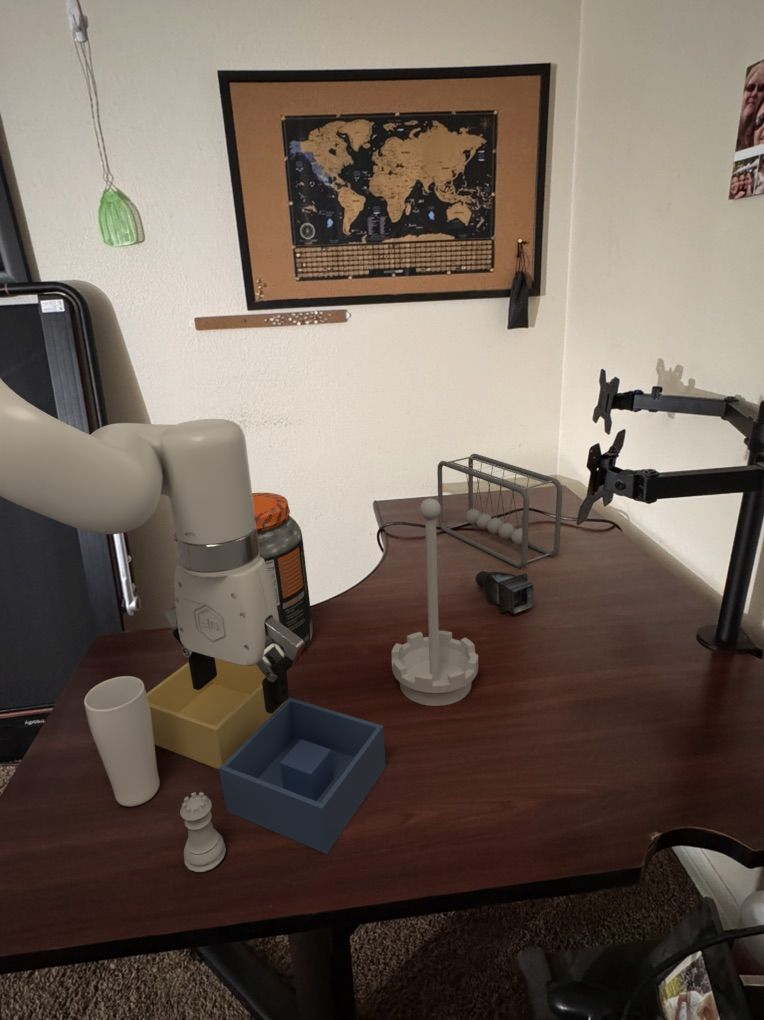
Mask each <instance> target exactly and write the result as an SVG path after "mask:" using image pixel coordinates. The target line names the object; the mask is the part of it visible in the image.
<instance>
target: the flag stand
mask: <svg viewBox="0 0 764 1020" xmlns="http://www.w3.org/2000/svg"><path fill="white" fill-rule="evenodd" d="M440 512H441V506H440V504H439V502H438V499H434V498H426V499H424V500H423V501H422V502H421V503H420V505H419V513H420V515H421V516H422V518H424V523H425V555H426V557H425V559H426V561H425V562H426V585H427V586H426V588H427V590H426V591H427V623H428V624H427V625H428V636H425V637H424V634H423V633H422V632H421V631H418V632H414V633H411V634H407V635H406V642H405V643H403V644H401V643H397V642H396V643H395V644H394V646H393V647H392V649H391V671H392V675H393V676H394V678H395V679H396V680H397V681H398V682H399V689H400V691H401V693H402V694H403V695H404V696H405V697H406V698H407V699H408V700H411V701H412V702H415V703H417V704H420V705H424V706H431V707H442V706H448V705H452V704H455V703H457V702H460V701H461V700H463V699H464V698H465V697H466V696H467V695H468V694H469V693H470V691H471V689H472V682H473V680H474V679H475V678H476V677H477V675H478V671H479V654H477V652H476V647H475V646H476V645H475V643H473V642H472V640H470V639H468V638H467V637H463V638H462V639H460V640H458V639H455V638H453V632H452V631H447V630H440V625H439V623H440V622H439V583H438V582H439V581H438V580H439V579H438V540H437V539H438V538H437V519H438V516H439V514H440Z"/></svg>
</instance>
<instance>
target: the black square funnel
mask: <svg viewBox="0 0 764 1020" xmlns="http://www.w3.org/2000/svg"><path fill="white" fill-rule="evenodd" d="M475 583H476V585H477V586H478V587H480V588H484V592H485V594H486V595H485V596H486V598H487V601H488V603H490V604H494V605H499V614H500V615H502V614H504V613H507V612H510V614H517V613H520V612H522V611H525V610H527V609H531V608H533V606H534V583H532V581H528V573H522V574H519V575H515V574H512V573H508V572H503V571H484V570H482V571H479V572H477V574H476V576H475Z"/></svg>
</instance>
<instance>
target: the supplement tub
mask: <svg viewBox="0 0 764 1020" xmlns="http://www.w3.org/2000/svg"><path fill="white" fill-rule="evenodd" d="M252 497H253V505H254V513H255V521H256V530H257V538H258V546H259V554H260V557H261V558H263V559H264V561H265V564H266V567H267V569H268V573H269V576H270V579H271V583H272V587H273V591H274V595H275V600H276V605H277V610H278V617H279V623H281V624H282V625H283V626H285V627H286V628H287V629H289V630H290V631H292V632H293V633H294V634H296V635H297V636H298V637H300V638H301V639H302V640H303V641H304V643H305V646H304V648H303V650H302V651H304V650H305V649H306V648H307V647H308V646H309V643H310V642H311V641H312V637H313V631H314V628H313V627H314V625H313V618H312V608H311V599H310V592H309V591H310V589H309V582H308V573H307V566H306V555H305V547H304V540H303V539H304V538H303V532H302V529H301V526H300V524H299V523H297V521H296V520H295V519H294V518H293V517H292V516H291V515H290V513H291V511H290V507H289V502H288V501H289V500H288V499H287V498H286V497H285V496H283V495H281V494H278V493H273V492H252ZM265 647H266V646H265ZM279 647H280V648H281V649H282V651H283V652H285V651H284V648H283V647H282V646H281V645H279ZM265 657H266V658H267V659H268V661H269V662H270V663H271V665H272V664H276V663H277V662H276V661H275V660H274V658H273V657H272V656H271V654H270V653H267V654H266V655H265Z"/></svg>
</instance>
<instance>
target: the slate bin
mask: <svg viewBox="0 0 764 1020" xmlns="http://www.w3.org/2000/svg"><path fill="white" fill-rule="evenodd" d="M300 739H301V740H304V741H307V742H310V743H313V744H316V745H319V746H322V747H325V748H328V749H331V755H332V765H333V775H334V779H333V780H332V781H331V783H330V784H329V785H328V786H327V788H326V789H325V790H324V792H323V793H322V794H321V796H320V797H319V798H318V800H317V801H314V800H312V799H309V798H307V797H304V796H301V795H299V794H296V793H294V792H291V791H288V790H286V789H283V783H282V776H281V769H280V762H281V761H282V760H283V759H284V757H285V756H286V755H287V754H288V753H289V752H290V751H291V750H292V748H293V747H294V746H295V745H296V744H297V743H298V742H299V741H300ZM386 764H387V763H386V749H385V731H384V725H383V724H378V723H375V722H372V721H369V720H365V719H362V718H358V717H355V716H352V715H350V714H346V713H342V712H340V711H336V710H332V709H329V708H325V707H323V706H319V705H316V704H313V703H310V702H306V701H303V700H299V699H295V698H293V697H288V698H287V700H286V702H285V703H284V704H283V705H282V706H281V707H280V708H279V709H278V710H277V711H276V712H275V713H274V714H273V715H272V716H271V717H270V718H269V719H268V720H267V721H266V722H265V723H264V724H263V725H262V726H261V727H260V728H259V729H258V730H257V731H256V732H255V733H254V734H253V735H252V736H251V737H250V738H249V739H248V740H247V741H246V742H245V743H244V744H243V745H242V746H241V747H240V748H239V749H238V750H237V751H236V752H235V753H234V754H233V755H232V756H231V757H230V758H229V759H228V760H227V761H226V762H225V763H224V764H223V765H222V766H221V767H220V768H219V769H218V772H219V777H220V783H221V789H222V794H223V800H224V805H225V809H226V813H228V814H231V815H233V816H235V817H238V818H241V819H243V820H245V821H247V822H250V823H252V824H254V825H257V826H259V827H262V828H264V829H267V830H268V831H271V832H273V833H276V834H278V835H280V836H282V837H285V838H288V839H290V840H293V842H296V843H299V844H302V845H304V846H306V847H309V848H311V849H313V850H316V851H318V852H320V853H323V854H325V855H328V854H329V853H330V851H331V850H332V849H333V847H334V845H335V844H336V842H337V841H338V840H339V838H340V837H341V835H342V834H343V832H344V831H345V829H346V828H347V826H348V825H349V823H351V820H352V819H353V817H354V816H355V815H356V813H357V811H358V810H359V808H361V805H362V804H363V802H364V801H365V799H366V798H367V796H368V795H369V793H370V792H371V791H372V789H373V787H374V786H375V785H376V783H377V781H378V780H379V779H380V777H381V776H382V774H383V773H384V771H385V770H386V768H387V765H386Z"/></svg>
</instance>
